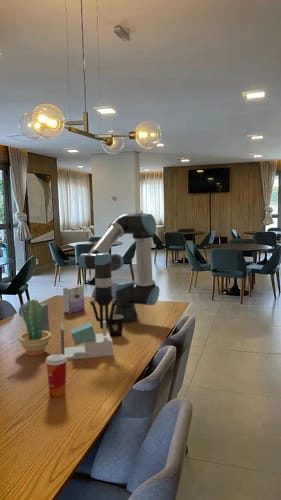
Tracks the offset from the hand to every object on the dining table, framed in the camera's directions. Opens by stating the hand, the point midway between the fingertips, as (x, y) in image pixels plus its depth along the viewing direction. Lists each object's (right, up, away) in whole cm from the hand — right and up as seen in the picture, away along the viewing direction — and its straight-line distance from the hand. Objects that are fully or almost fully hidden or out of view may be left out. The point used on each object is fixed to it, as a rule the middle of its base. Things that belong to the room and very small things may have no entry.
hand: (104, 334), depth 181 cm
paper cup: (-14, -13, -40) cm, 44 cm away
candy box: (-27, 0, +72) cm, 77 cm away
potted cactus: (-33, -8, +1) cm, 34 cm away
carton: (-9, -2, -2) cm, 9 cm away
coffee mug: (+2, -5, +24) cm, 25 cm away
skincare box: (-38, -5, +27) cm, 47 cm away
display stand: (-9, -8, -1) cm, 12 cm away
